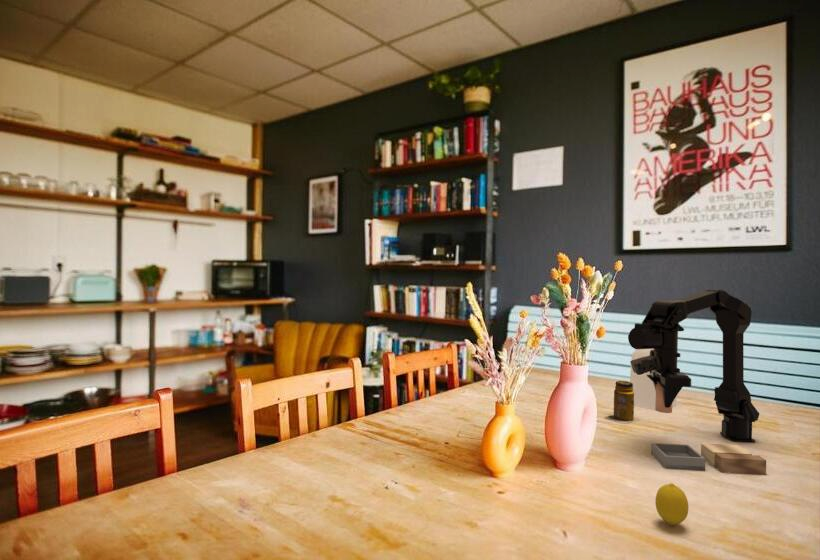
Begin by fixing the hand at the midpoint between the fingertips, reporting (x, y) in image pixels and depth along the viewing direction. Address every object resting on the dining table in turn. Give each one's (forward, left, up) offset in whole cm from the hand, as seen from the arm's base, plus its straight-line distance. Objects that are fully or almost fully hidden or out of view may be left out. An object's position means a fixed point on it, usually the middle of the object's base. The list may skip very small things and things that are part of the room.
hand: (664, 405), depth 129 cm
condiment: (+3, -27, -13) cm, 30 cm away
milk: (-13, -45, -13) cm, 48 cm away
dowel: (0, 0, -2) cm, 2 cm away
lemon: (+14, +40, -13) cm, 44 cm away
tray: (0, +8, -12) cm, 15 cm away
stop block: (-13, +12, -12) cm, 22 cm away
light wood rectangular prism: (-12, +7, -13) cm, 19 cm away
